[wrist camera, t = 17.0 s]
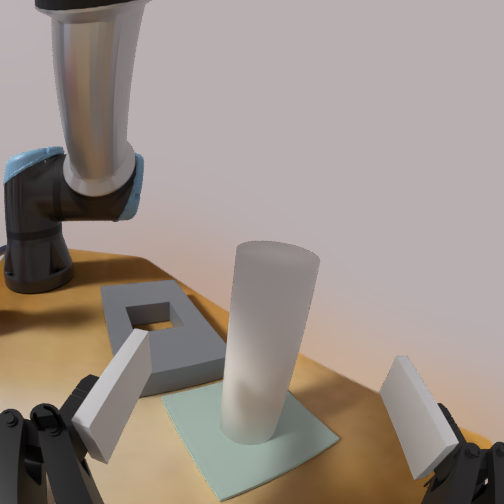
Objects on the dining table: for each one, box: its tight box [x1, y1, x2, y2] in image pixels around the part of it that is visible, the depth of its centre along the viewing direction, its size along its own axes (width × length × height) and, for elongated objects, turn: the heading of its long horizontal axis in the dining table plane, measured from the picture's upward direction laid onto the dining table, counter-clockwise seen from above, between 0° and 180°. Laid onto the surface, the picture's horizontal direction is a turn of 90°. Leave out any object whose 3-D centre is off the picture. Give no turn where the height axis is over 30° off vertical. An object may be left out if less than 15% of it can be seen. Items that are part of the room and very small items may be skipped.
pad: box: [161, 382, 340, 502], centre depth 22 cm, size 12×12×1 cm
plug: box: [220, 241, 320, 445], centre depth 19 cm, size 5×5×16 cm
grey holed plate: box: [100, 280, 227, 397], centre depth 33 cm, size 20×12×3 cm, turn 32°
